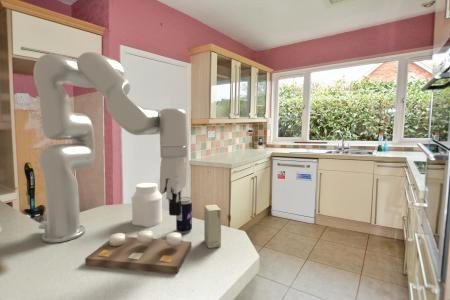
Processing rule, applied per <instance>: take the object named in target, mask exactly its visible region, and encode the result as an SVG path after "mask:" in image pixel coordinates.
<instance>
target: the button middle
mask: <svg viewBox="0 0 450 300" xmlns="http://www.w3.org/2000/svg"><path fill="white" fill-rule="evenodd" d="M153 235H154V234H153V231H152V230H149V229H148V230H141V231H139V232H138V233H137V234H136V236H137V241H138V242H139V243H148V242H151V241H152V240H153V239H154V236H153Z"/></svg>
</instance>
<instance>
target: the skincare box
mask: <svg viewBox="0 0 450 300" xmlns="http://www.w3.org/2000/svg"><path fill="white" fill-rule="evenodd" d="M203 211H204V212H203V213H204V217H203V218H204V222H203V223H204V225H203V226H204V234H203V235H204V238H203V239H204V242H205V244H206V247H207V248H208V249H212V248H219V247H222V233H221V232H222V224H221V223H222V210H221V208H220V206H218V205H217V204H205V205H204V210H203Z"/></svg>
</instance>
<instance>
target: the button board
mask: <svg viewBox="0 0 450 300" xmlns="http://www.w3.org/2000/svg"><path fill="white" fill-rule="evenodd" d="M191 249H192V241H186V240H181V243H180V244H178V245H174V246H171V245H168V244H167V243H166V239H161V238H153V240H152V241H151V242H148V243H139V242H138V241H137V237H135V236H134V237H133V236H125V243H124V244H122V245H119V246H111V245H110V242H109V240H107V241H106V242H105V243H103V244H102V245H101V246H100V247H98V248H97V249H95V250H94V251H93V252H92V253H90V254H89V255H88V256H86V257H85V266H90V267H91V266H92V267H101V268H113V269H119V270H120V269H121V270H132V271H144V272H145V271H146V272H153V273H163V274H175V275H178V273H179V271H180V269H181V268H182V266H183V264H184V263H185V261H186V258H187V257H188V255H189V253H190V252H191Z"/></svg>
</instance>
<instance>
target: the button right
mask: <svg viewBox="0 0 450 300" xmlns="http://www.w3.org/2000/svg"><path fill="white" fill-rule="evenodd" d="M165 237H166V239H165V240H166V243H167V244H168V245H171V246H174V245H178V244H180V243H181V241H182V233H180V232H178V231H176V232H175V231H174V232H169V233H168V234H166V236H165Z"/></svg>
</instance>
